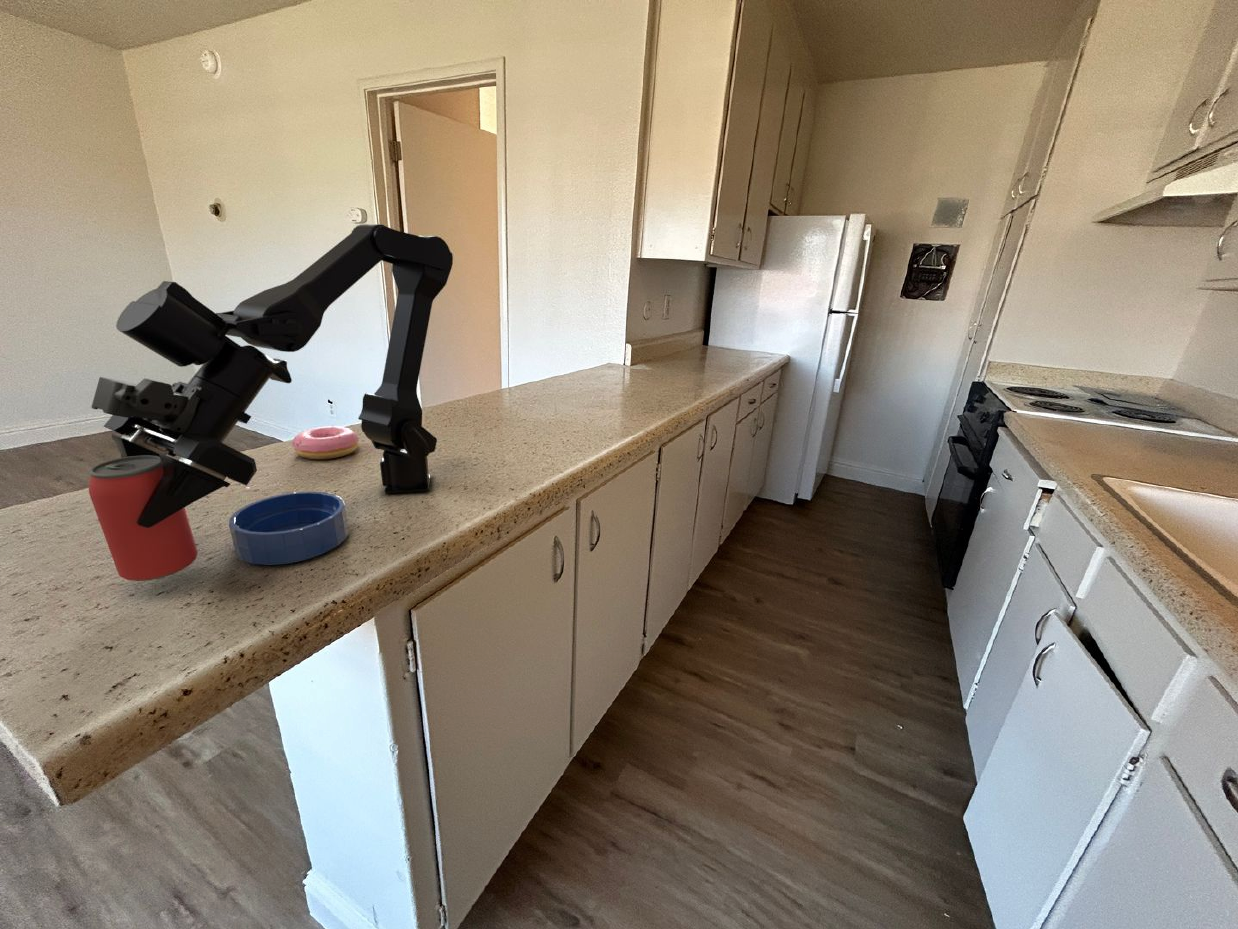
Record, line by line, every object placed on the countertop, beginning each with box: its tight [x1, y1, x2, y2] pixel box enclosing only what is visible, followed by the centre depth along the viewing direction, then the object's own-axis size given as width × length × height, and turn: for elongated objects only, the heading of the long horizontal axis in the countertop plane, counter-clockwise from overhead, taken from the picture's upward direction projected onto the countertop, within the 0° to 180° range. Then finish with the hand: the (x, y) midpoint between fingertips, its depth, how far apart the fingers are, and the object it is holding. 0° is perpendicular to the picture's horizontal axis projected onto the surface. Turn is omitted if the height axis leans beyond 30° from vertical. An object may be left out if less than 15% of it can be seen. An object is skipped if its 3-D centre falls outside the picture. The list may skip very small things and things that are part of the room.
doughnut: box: [291, 425, 360, 460], centre depth 96 cm, size 11×11×4 cm
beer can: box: [88, 455, 199, 582], centre depth 53 cm, size 7×7×12 cm
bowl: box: [228, 491, 350, 566], centre depth 64 cm, size 12×12×4 cm
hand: (126, 517), depth 52 cm, fingers closed on beer can, 6 cm apart
